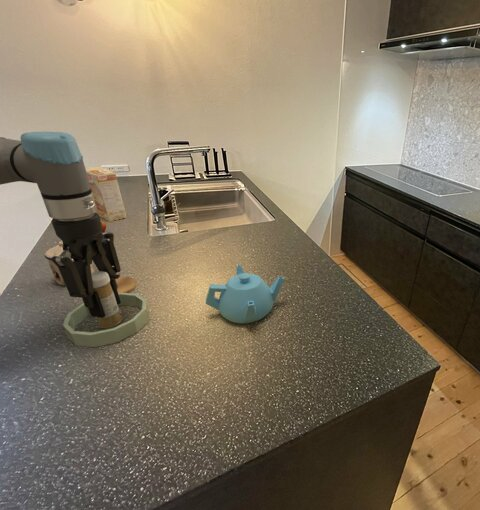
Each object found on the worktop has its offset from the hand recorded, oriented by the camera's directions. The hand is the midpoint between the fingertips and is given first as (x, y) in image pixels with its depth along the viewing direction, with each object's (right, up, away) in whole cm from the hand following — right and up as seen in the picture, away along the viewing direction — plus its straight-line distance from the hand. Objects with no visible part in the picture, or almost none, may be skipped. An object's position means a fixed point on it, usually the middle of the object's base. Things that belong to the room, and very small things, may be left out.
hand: (106, 309), depth 72 cm
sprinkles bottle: (0, -4, +2) cm, 4 cm away
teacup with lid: (-21, +5, +16) cm, 28 cm away
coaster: (-8, +3, +14) cm, 17 cm away
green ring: (0, -4, +2) cm, 4 cm away
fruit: (-37, +20, +43) cm, 60 cm away
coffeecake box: (-45, +30, +60) cm, 81 cm away
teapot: (+30, -2, +10) cm, 32 cm away
